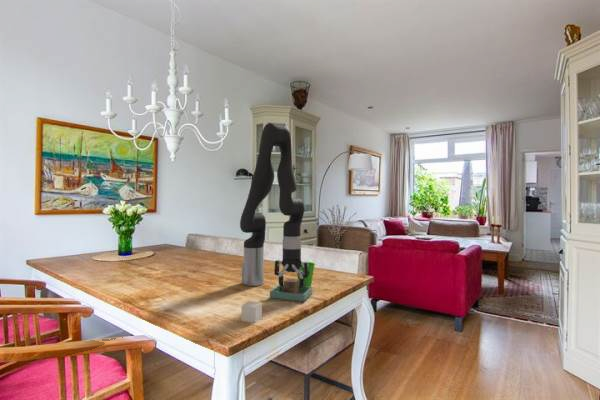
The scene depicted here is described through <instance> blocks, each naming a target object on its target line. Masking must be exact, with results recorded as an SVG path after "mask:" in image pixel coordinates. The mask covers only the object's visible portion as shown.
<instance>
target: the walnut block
mask: <svg viewBox="0 0 600 400" xmlns="http://www.w3.org/2000/svg"><path fill="white" fill-rule="evenodd" d="M283 284H284V292H287V293H297V294H299V279H298V278H286V279H285V280H283Z"/></svg>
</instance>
